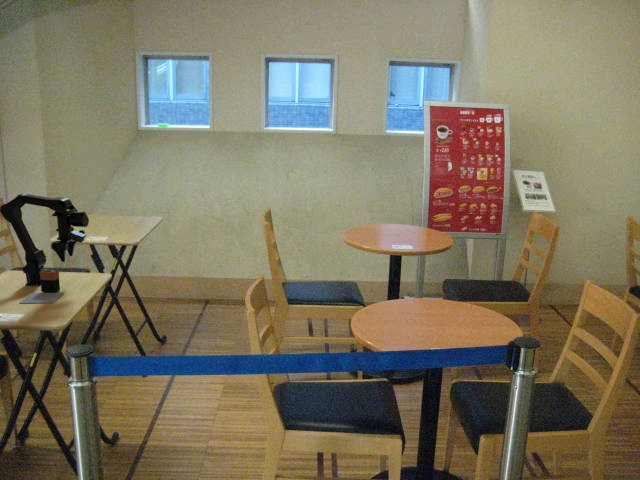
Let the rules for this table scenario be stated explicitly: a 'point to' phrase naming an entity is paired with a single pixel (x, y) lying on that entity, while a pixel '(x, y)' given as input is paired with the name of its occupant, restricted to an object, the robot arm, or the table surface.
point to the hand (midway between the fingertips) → (67, 258)
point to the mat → (41, 298)
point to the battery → (49, 281)
